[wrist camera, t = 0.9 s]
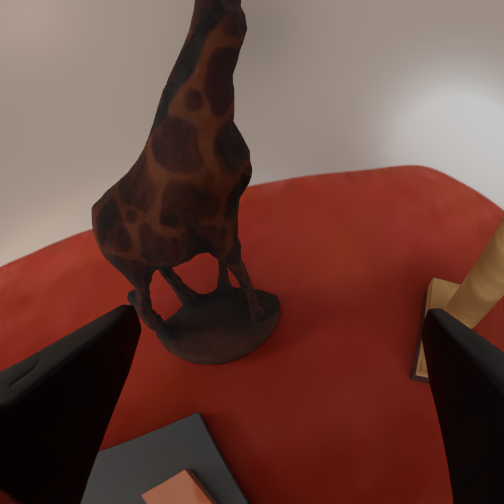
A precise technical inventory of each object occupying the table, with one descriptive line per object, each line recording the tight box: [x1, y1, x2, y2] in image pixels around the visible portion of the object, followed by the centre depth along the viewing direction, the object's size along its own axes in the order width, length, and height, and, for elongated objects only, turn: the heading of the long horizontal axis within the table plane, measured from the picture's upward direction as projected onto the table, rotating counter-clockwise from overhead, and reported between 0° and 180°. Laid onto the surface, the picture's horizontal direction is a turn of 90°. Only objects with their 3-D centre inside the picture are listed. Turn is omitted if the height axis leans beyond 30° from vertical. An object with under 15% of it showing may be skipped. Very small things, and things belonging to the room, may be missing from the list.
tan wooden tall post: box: [410, 217, 504, 383], centre depth 17 cm, size 8×4×15 cm, turn 158°
